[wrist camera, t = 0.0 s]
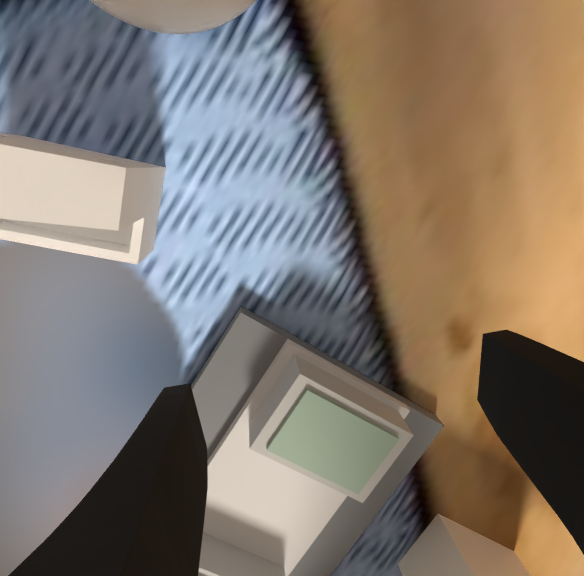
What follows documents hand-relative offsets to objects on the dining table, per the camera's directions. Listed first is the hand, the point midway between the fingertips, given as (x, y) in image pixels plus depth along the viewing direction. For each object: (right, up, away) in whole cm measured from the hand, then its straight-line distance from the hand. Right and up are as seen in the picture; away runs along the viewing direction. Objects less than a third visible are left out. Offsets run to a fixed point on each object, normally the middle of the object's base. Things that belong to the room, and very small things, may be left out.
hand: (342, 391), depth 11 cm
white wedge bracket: (-10, +7, +8) cm, 14 cm away
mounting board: (-3, -7, +13) cm, 15 cm away
